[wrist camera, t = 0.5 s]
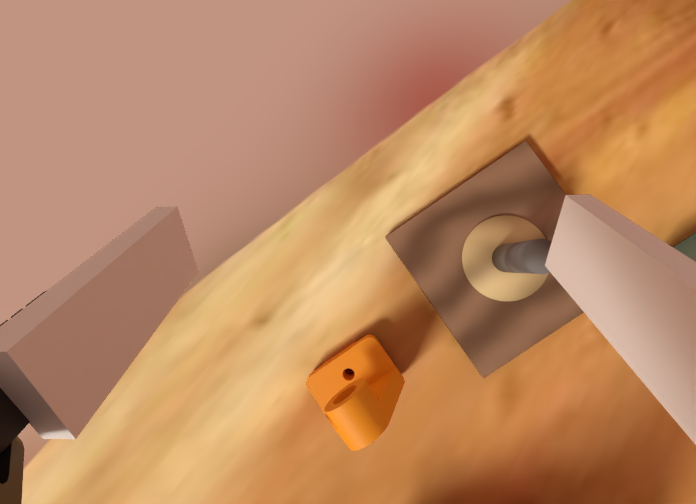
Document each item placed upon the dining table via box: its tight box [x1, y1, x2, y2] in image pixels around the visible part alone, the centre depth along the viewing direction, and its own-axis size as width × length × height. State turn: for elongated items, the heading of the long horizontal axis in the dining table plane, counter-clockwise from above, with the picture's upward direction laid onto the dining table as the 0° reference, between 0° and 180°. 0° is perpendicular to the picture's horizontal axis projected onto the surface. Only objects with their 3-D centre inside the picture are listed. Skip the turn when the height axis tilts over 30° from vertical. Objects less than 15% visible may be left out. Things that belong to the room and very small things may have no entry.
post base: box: [385, 141, 583, 378], centre depth 40 cm, size 22×22×11 cm
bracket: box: [306, 334, 404, 451], centre depth 40 cm, size 11×7×12 cm
